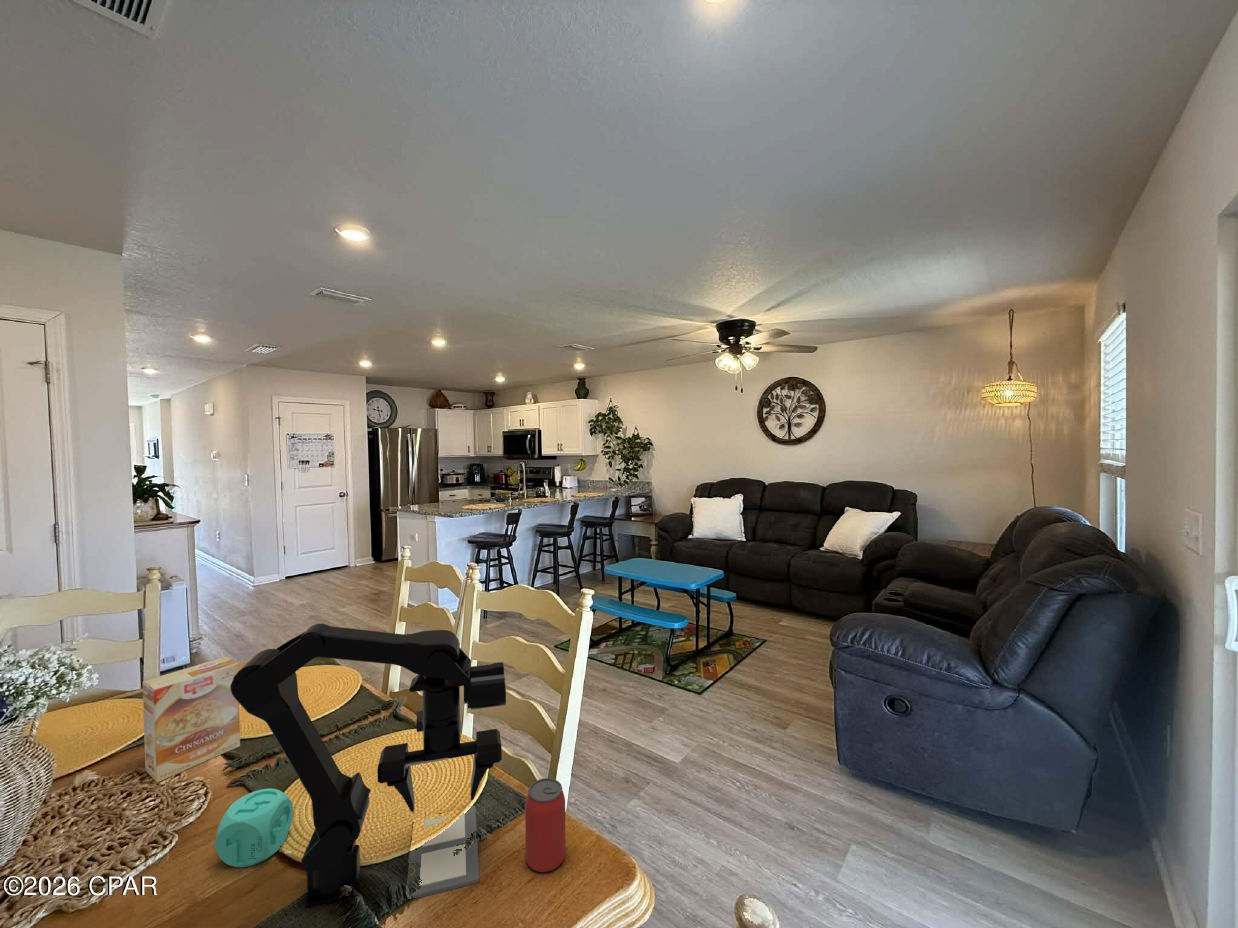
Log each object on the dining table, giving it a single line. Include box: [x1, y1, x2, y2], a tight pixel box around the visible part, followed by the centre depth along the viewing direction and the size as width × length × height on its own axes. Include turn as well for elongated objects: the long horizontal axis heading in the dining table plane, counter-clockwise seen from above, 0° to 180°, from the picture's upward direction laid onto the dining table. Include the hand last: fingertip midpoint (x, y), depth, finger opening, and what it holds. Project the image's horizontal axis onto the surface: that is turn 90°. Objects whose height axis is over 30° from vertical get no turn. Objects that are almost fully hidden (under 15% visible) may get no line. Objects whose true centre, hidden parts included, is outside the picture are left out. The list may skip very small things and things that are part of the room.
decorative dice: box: [214, 788, 294, 868], centre depth 87 cm, size 8×8×8 cm
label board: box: [407, 805, 480, 899], centre depth 87 cm, size 11×17×1 cm, turn 18°
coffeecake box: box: [142, 656, 241, 783], centre depth 111 cm, size 15×7×20 cm, turn 148°
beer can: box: [524, 777, 566, 873], centre depth 85 cm, size 7×7×12 cm
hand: (442, 804), depth 84 cm, fingers open, 9 cm apart
